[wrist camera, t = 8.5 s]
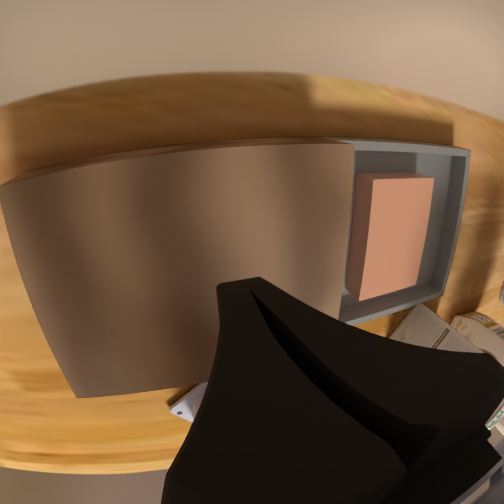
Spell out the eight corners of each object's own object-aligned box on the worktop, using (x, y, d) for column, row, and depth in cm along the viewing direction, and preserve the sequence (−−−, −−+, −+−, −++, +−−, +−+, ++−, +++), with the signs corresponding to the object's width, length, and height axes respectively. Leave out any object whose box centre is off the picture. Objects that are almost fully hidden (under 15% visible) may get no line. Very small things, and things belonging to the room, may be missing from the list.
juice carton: (480, 304, 35) (574, 381, 18) (455, 354, 38) (535, 433, 21) (453, 309, 32) (560, 403, 16) (425, 364, 35) (513, 458, 19)
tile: (373, 179, 18) (355, 173, 20) (358, 301, 22) (345, 288, 24) (434, 177, 20) (416, 172, 22) (415, 284, 24) (401, 274, 26)
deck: (318, 137, 19) (354, 144, 15) (309, 319, 25) (332, 351, 21) (26, 171, 14) (-3, 186, 11) (82, 359, 20) (77, 398, 17)
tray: (453, 146, 22) (470, 150, 21) (430, 285, 28) (443, 295, 27) (318, 137, 19) (335, 140, 17) (309, 319, 25) (320, 334, 23)
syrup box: (382, 342, 30) (472, 441, 17) (419, 297, 29) (521, 384, 16) (404, 355, 32) (482, 439, 20) (437, 316, 31) (523, 392, 19)
